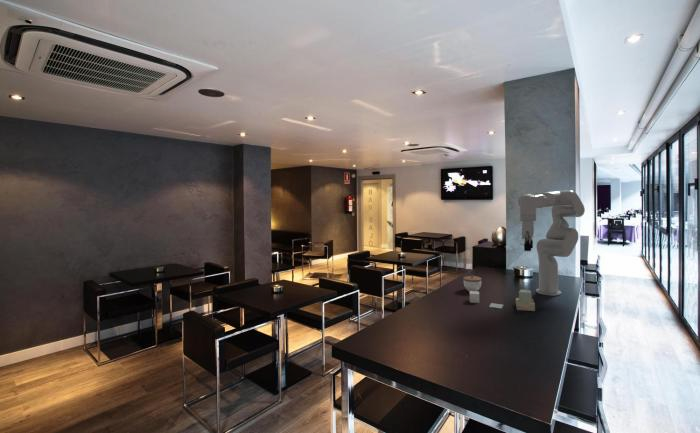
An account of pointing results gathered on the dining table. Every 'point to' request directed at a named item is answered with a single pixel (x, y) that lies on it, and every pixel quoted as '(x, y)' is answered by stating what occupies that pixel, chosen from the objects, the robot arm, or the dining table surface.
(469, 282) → the lidded jar
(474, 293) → the offwhite cube
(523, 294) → the sage cube
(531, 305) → the tan square block
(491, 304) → the sage swatch
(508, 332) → the dining table surface
